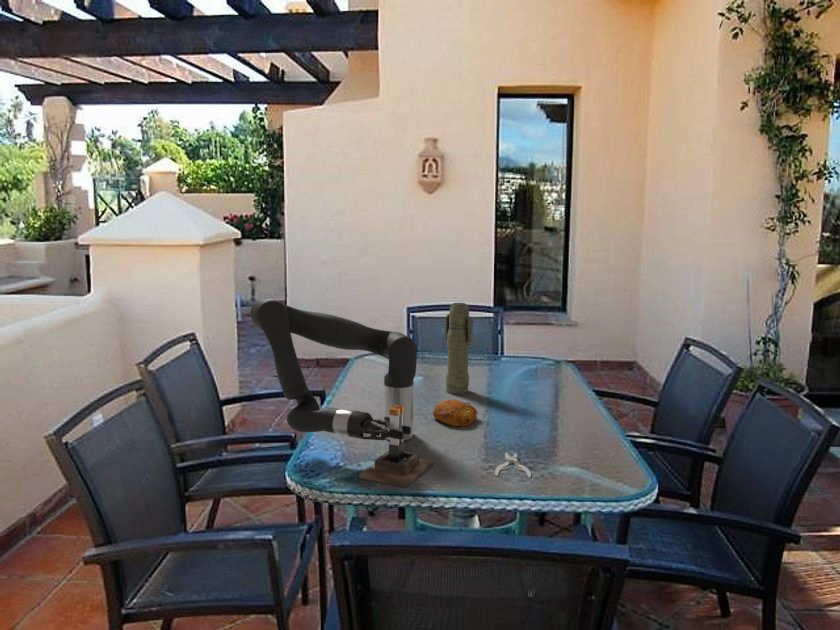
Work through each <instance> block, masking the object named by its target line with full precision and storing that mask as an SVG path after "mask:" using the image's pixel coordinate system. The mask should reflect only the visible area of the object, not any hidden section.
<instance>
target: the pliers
mask: <svg viewBox="0 0 840 630" xmlns="http://www.w3.org/2000/svg"><path fill="white" fill-rule="evenodd" d="M517 457H518V454H517V453H513V456H511V455H509V453H508V452H505V453H504V459H505V462H504V463H501V464H499V465H498V466H496V468H495V469H494V474H495V477H499V474H500V471H505V470H508V469H510V468H511V466H510V465H512V464H514V466H513V468H514V469H516V470H518V471H522V472H525V474H526V475H527V477H528V478H529V479H530V478H531V476H532V473H531V471H530V469H529V468H528V467H526V466H525V465H523V464H520V462H519V460H518V458H517Z"/></svg>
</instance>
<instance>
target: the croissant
mask: <svg viewBox="0 0 840 630" xmlns="http://www.w3.org/2000/svg"><path fill="white" fill-rule="evenodd" d="M478 414H479V412H478V410H477V409H476V408H475V407H474V406H473V405H471V404H469V403H467V402H464V401H462V400H461V401H460V400H456V399H450V398H449V399H445V400H442V401H441V402H440V403H437V404H436V405H435V406H434V408H433V410H432V416H433V417H434V418H435V419H436V420H438V421H440V422H442V423H444V424H447V425H450V426H453V427H467V426H469V425H471V424H473V423H474V422H475V421H476V420H477V418H478V417H477V415H478Z"/></svg>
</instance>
